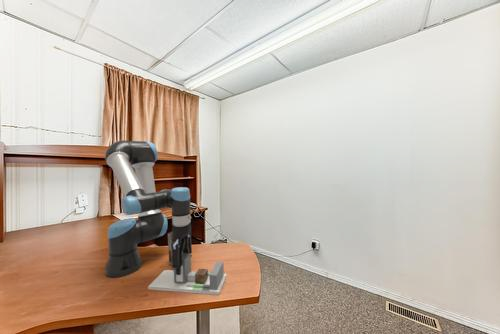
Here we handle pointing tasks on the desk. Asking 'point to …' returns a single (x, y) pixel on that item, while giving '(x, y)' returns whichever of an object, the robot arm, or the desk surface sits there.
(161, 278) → the board
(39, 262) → the desk surface
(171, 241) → the coffee box
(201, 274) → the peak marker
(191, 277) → the grey block
